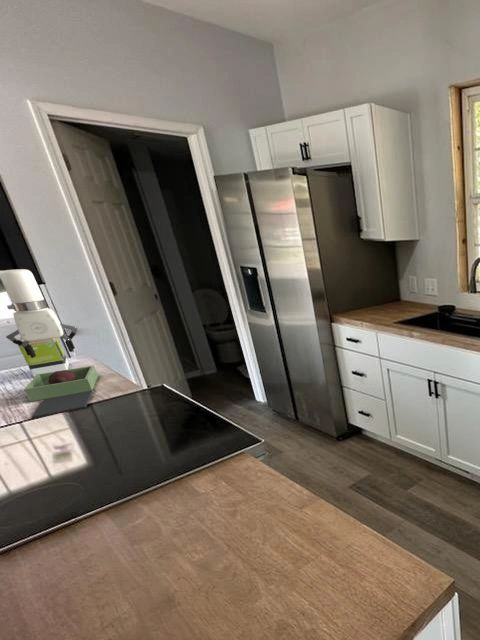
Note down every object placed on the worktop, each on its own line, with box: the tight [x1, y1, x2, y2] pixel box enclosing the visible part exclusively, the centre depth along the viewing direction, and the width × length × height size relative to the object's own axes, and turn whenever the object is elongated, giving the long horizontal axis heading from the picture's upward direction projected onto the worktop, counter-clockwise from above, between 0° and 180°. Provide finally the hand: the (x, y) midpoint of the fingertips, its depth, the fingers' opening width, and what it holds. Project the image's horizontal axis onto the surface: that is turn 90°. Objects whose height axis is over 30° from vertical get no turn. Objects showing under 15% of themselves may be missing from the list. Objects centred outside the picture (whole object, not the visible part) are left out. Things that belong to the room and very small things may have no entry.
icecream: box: [48, 370, 77, 384], centre depth 151 cm, size 7×7×15 cm
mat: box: [31, 390, 93, 419], centre depth 138 cm, size 12×18×1 cm, turn 39°
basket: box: [23, 365, 99, 402], centre depth 152 cm, size 16×20×4 cm
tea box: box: [17, 336, 70, 378], centre depth 168 cm, size 15×10×15 cm, turn 44°
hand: (53, 353), depth 148 cm, fingers open, 9 cm apart
